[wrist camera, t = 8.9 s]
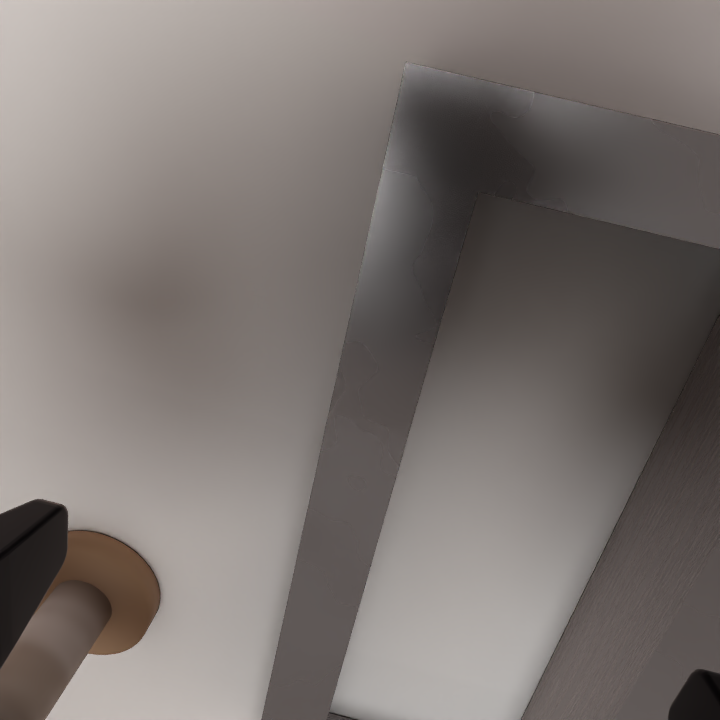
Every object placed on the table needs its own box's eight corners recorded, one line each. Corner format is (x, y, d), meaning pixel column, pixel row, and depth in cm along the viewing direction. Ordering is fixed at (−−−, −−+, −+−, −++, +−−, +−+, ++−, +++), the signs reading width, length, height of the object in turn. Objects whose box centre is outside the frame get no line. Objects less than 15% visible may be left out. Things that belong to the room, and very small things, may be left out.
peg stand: (155, 646, 19) (40, 866, 14) (34, 615, 19) (-128, 819, 14) (164, 550, 17) (38, 755, 12) (32, 516, 18) (-153, 703, 12)
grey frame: (533, 799, 20) (550, 934, 16) (266, 728, 20) (233, 847, 17) (872, 179, 12) (1037, 208, 8) (415, 73, 12) (405, 61, 9)
